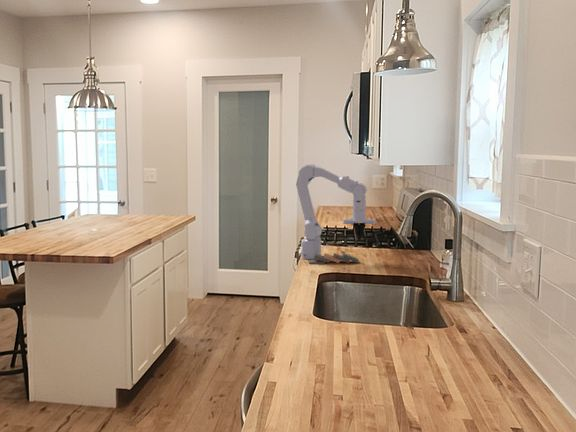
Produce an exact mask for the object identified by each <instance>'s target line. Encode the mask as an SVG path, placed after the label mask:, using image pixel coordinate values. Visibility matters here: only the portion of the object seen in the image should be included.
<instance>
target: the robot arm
mask: <svg viewBox="0 0 576 432" xmlns="http://www.w3.org/2000/svg"><path fill="white" fill-rule="evenodd" d="M319 177H320V178H321V177H322V178H324V179H326V180H328V181H331V182H332V183H336V184H337V186H338V188H340V189H341V190H344V191H346V192H347V193H350V194H352V195H353V200H352V219H351V218H348V219H346V218H345V219H342V224H343V225H352V226H353V229H354V231H355V236H356V240H357V241H361V239H362V235H363V233H364V231H365V228H366V225H376V219H374V218H373V219H370V218H369V219H368V218H366V214H367V213H366V207H367V205H366V204H367V202H366V201H367V200H366V198H367V196H366V194H367V191H368V189H367V186H366V185H364V184H363V183H362V182H361V183H360V182H359V181H358V180H356V181H355V180H353V179H351V178H350V176H348V175H347V176H345V175H343V176H339V175H337V174H335V173H333V172H331V171H329V170H327V169H326V168H323V167H321V166H316V165H315V164H306V165H303V166H302V167H301V168H300V169H299V170H298V176H297V179H296V183H295V186H296V189H297V194H298V198H299V202H300V205H301V206H300V207H301V209H302V214H303V218H304V236H305V239H301V251H300V255H301V259H302V260H316V259H315V258H314V253H316V254H319V255H322V237H321V235H322V233H323V229H322V227H321V225H320V223H319V220H318V219H317V218H316V213H315V210H314V207H313V201H312V198H311V194H310V190H309V184H310V183H311V182H312V180H314V179H315V178H319Z"/></svg>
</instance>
